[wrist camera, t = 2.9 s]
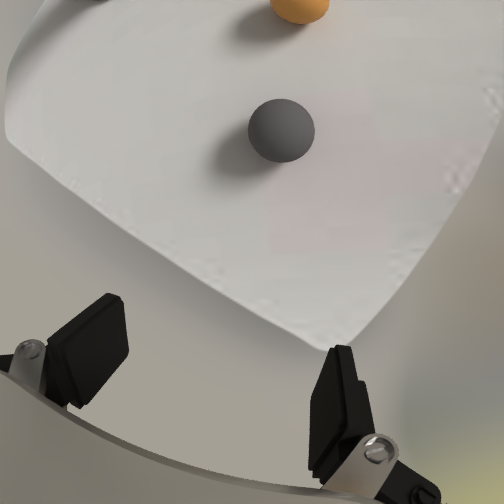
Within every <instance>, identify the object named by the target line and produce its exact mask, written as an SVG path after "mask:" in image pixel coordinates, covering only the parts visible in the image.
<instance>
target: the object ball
mask: <svg viewBox="0 0 504 504" xmlns="http://www.w3.org/2000/svg"><path fill="white" fill-rule="evenodd" d="M270 4H271V6H272V8H273V10H274V11H275V13H276V14H277V15H279V16H280V17H281V18H283V19H284V20H286V21H289V22H292V23H296V24H307V23H312V22H315V21H317V20H319V19H320V18H321V17H323V16H324V15H325V13H326V12H327V10H328V7H329V0H270Z"/></svg>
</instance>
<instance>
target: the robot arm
mask: <svg viewBox="0 0 504 504" xmlns="http://www.w3.org/2000/svg"><path fill="white" fill-rule="evenodd" d="M47 342H48V345H46V346H45V345H44V343H42V342H41V341H39V340H34V339H31V340H27V341H24V342H22V343H20V344H19V345H18V346H17V348H16V350H15V353H14V354H10V355H0V504H442V503H441V493H440V490H439V489H438V487H437V486H436V485H435V484H433V483H432V482H430V481H429V480H427V479H425V478H424V477H422V476H421V475H419V474H418V473H416V472H415V471H413V470H412V469H410V468H408V467H407V466H406V465H404V464H403V463H401V462H400V461H399V460H397V459H398V456H399V449H398V446H397V444H396V443H395V442H394V441H393V440H392V439H391V438H390V437H388V436H386V435H383V434H377V433H375V428H374V423H373V417H372V413H371V407H370V402H369V397H368V393H367V388H366V384H365V382H364V381H359V380H358V377H357V373H356V368H355V363H354V358H353V354H352V349H351V347H350V346H344V345H336V346H335V347H334V348H330V349H329V351H328V354H327V357H326V360H325V363H324V365H323V368H322V371H321V373H320V375H319V379H318V381H317V383H316V386H315V388H314V390H313V393H312V396H311V400H310V435H309V437H310V438H309V460H308V461H309V462H308V469H309V470H310V471H313V476H312V477H313V478H320V483H321V484H323V486H322V487H321V488H320V489H314V488H306V487H296V486H288V485H280V484H272V483H266V482H260V481H255V480H249V479H244V478H239V477H234V476H229V475H224V474H221V473H216V472H213V471H209V470H205V469H201V468H198V467H194V466H191V465H188V464H185V463H181V462H178V461H175V460H172V459H169V458H166V457H164V456H161V455H158V454H155V453H153V452H150V451H148V450H145V449H143V448H140V447H138V446H135V445H133V444H131V443H128V442H126V441H124V440H122V439H120V438H117V437H115V436H113V435H111V434H109V433H107V432H105V431H103V430H101V429H99V428H97V427H95V426H93V425H91V424H90V423H87V422H86V421H84V420H82V419H80V418H79V417H77V416H75V415H73V414H72V413H70V412H68V411H67V404H68V403H69V402H70V403H71V404H72V405H73V406H75V407H77V408H79V409H81V408H82V407H83V406H84V405H87V404H88V403H89V402H90V401H91V400H92V398H93V397H94V396H95V395H96V394H97V392H98V391H99V390H100V389H101V388H102V386H103V385H104V384H105V383H106V382H107V380H108V379H109V378H110V376H111V375H112V374H113V373H114V372H115V371H116V369H117V368H118V367H119V366H120V365H121V363H122V362H123V361H124V360H125V359H126V358H127V356H128V353H129V346H128V339H127V331H126V323H125V313H124V303H123V301H122V300H121V298H120V297H119V296H117V295H114V294H111V293H106V294H105V295H103V296H102V297H101V298H99V299H98V300H97V301H95V302H94V303H93V304H91V305H90V306H89V307H87V308H86V309H85V310H84V311H82V312H81V313H80V314H78V315H77V316H76V317H75V318H74V319H72V320H71V321H69V322H68V323H67V324H66V325H64V326H63V327H62V328H61V329H59V330H58V331H57V332H56V333H54V334H53V335H52V336H51V337H49V338H48V339H47ZM446 504H447V503H446Z"/></svg>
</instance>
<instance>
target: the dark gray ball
mask: <svg viewBox="0 0 504 504" xmlns="http://www.w3.org/2000/svg"><path fill="white" fill-rule="evenodd" d="M248 134H249V139H250V142H251V144H252V146H253V147H254V149H255V150H256V151H257V152H258V153H259V154H260V155H261V156H263V157H264V158H266V159H268V160H270V161H274V162H280V163H284V162H291V161H294V160H296V159H298V158H300V157H302V156H303V155H304V154H305V153H306V152H307V151H308V150H309V148H310V147H311V145H312V143H313V140H314V134H315V129H314V123H313V120H312V118H311V116H310V114H309V113H308V112H307V110H306V109H305V108H303V107H302V106H301V105H299V104H298V103H296V102H294V101H291V100H287V99H275V100H270V101H268V102H265V103H264V104H262V105H261V106H259V107H258V108H257V109H256V110H255V112H254V113H253V115H252V116H251V119H250V121H249V126H248Z"/></svg>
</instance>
